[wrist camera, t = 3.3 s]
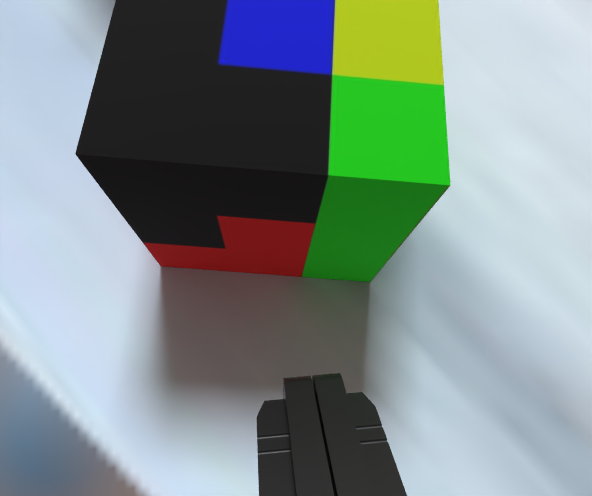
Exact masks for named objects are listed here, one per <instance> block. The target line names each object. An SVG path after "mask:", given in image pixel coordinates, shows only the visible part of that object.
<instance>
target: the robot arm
mask: <svg viewBox="0 0 592 496" xmlns="http://www.w3.org/2000/svg"><path fill="white" fill-rule="evenodd" d="M283 396H284V399H280V400H269V401H264V403H263V405H262V407H261V409H260V411H259V414H258V416H257V443H258V475H259V496H407V495H406V492H405V489H404V486H403V483H402V480H401V478H400V475H399V472H398V469H397V466H396V463H395V461H394V458H393V455H392V452H391V449H390V446H389V444H388V442H387V438H386V435H385V432H384V430H383V428H382V424H381V421H380V418H379V415H378V413H377V410H376V407H375V406H374V405H373V403H372V402H371V401H370V400H369V399H368V398H367V397H366V396H365V395H364V394H363V393H362V392H359V393H347V394H346V391H345V387H344V384H343V380H342V377H341V375H340V373H338V374H326V375H314V376H312V379H311V376H304V377H292V378H283Z"/></svg>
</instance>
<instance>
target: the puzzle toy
mask: <svg viewBox="0 0 592 496" xmlns="http://www.w3.org/2000/svg"><path fill="white" fill-rule="evenodd" d="M76 156H77V157H78V158H79V159H80V161H81V162H82V163H83V165H84V166H85V167H86V169H87V170H88V171H89V173H90V174H91V175H92V177H93V178H94V179H95V180H96V182H97V183H98V184H99V186H100V187H101V188H102V190H103V191H104V192H105V194H106V195H107V196H108V197H109V199H110V200H111V201H112V203H113V204H114V205H115V207H116V208H117V209H118V211H119V212H120V213H121V215H122V216H123V217H124V218H125V220H126V221H127V222H128V224H129V225H130V226H131V228H132V229H133V230H134V232H135V233H136V234H137V236H138V237H139V238H140V239H141V241H142V242H143V243H144V245H145V246H146V247H147V249H148V250H149V251H150V253H151V254H152V255H153V257H154V258H155V259H156V260H157V262H158V263H159V264H160V266H165V267H178V268H191V269H204V270H218V271H231V272H244V273H257V274H271V275H284V276H297V277H310V278H324V279H337V280H350V281H364V282H371V280H372V279H373V278H374V277H375V276H376V274H377V273H378V272H379V271H380V270H381V268H382V267H383V266H384V265H385V263H386V262H387V261H388V260H389V259H390V257H391V256H392V255H393V254H394V253H395V251H396V250H397V249H398V248H399V247H400V245H401V244H402V243H403V242H404V241H405V239H406V238H407V237H408V236H409V235H410V233H411V232H412V231H413V230H414V229H415V227H416V226H417V225H418V224H419V223H420V221H421V220H422V219H423V218H424V216H425V215H426V214H427V213H428V212H429V210H430V209H431V208H432V207H433V206H434V204H435V203H436V202H437V201H438V200H439V198H440V197H441V196H442V195H443V194H444V192H445V191H446V190H447V189H448V188H449V186H450V173H449V158H448V142H447V127H446V112H445V96H444V81H443V66H442V50H441V35H440V19H439V4H438V0H116V2H115V6H114V9H113V13H112V17H111V21H110V25H109V28H108V32H107V36H106V40H105V44H104V47H103V51H102V55H101V59H100V63H99V66H98V70H97V74H96V78H95V82H94V85H93V89H92V93H91V97H90V100H89V104H88V108H87V112H86V116H85V119H84V123H83V127H82V131H81V135H80V138H79V142H78V146H77V150H76Z"/></svg>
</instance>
